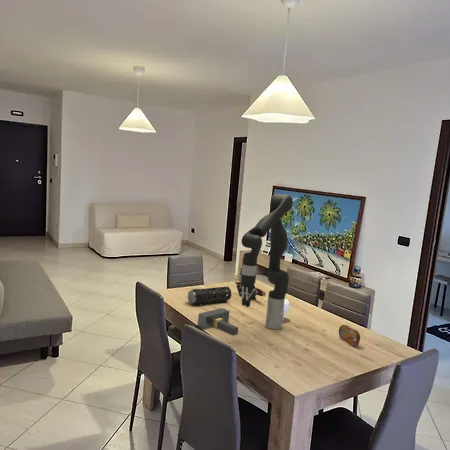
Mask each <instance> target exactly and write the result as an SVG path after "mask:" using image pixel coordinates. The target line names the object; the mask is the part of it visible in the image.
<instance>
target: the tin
mask: <svg viewBox="0 0 450 450" xmlns="http://www.w3.org/2000/svg"><path fill="white" fill-rule="evenodd" d="M338 336H339V338H340V340H341V339H342V341H343V342H344V341H345V344H348V345H349V346H351V347H352V346H353V347H354V346H356V347H357V346H358V345H359V344H360V341H361V335H360V332H359V331H358V330H357V329H355V328H353V327H352V326H350V325H348V324H341V325H340V326H339V329H338Z"/></svg>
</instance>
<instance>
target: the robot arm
mask: <svg viewBox="0 0 450 450" xmlns="http://www.w3.org/2000/svg"><path fill="white" fill-rule="evenodd" d="M293 200H294V199H293V197H292V196H291V195H290V194H286V193H285V194H283V193H274V194H272V195H271V197H270V203H269V205H270V206H269V207H270V213H268V214H267V215H264V216H263V217H262V218H261V219H260V220H259V221H258V222H257V223H256V225H254V227H252V228H251V229H249V230H248V231H247V232H246V233H244V234H243V236H242V238H241V244H242V246H243V247H244V248H248V249H250V252H249V251H248V252H245V253H244V254H243V257H242V258H243V259H242V266H241V268H242V273H241V284H240V285H237V284H236V289H237V293H238V296H239V297H241V299H242V300H241V306H243V307H246V308H249V307H250V306H251V301H252V300H255V297H256V296H258V295H257V293H258V290H256V289H255V288H256V287H255V284H256V282H257V281H256V280H257V270H258V269H257V264H258V258H259V255H260V251H261V248H262V246H263V239H262V238H264V237H266V235H267V234H268V233H269V231H270V238H269V239H270V240H269V242H270V247H269V251H270V252H269V263H268V270H267V280H268V282H269V283H271V284H272V285H273V286H274V288H273V289H272V290H270V291H268V298H267V304H266V305H267V307H266V315H265V317H266V318H265V327H266V328H268V329H270V330H282V329H283V322H284V312H285V311H284V310H285V299H286V294H287V293H288V287H289V281H290V276H289V273H288V272H287V271H285V270H283V269H281V259H282V257H283V255H284V253H285V252H286V250H287V248H288V247H287V246H288V232H287V230H286V228H285V226H284V224H283V222H282V217H284V216H285V215H286V214H287V213H288V212H289V211H290V210H291V209H292V206H293V205H294V204H293V203H294V201H293ZM252 291H253V292H252ZM246 296H247V298H246ZM246 299H247V300H246Z"/></svg>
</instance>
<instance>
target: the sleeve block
mask: <svg viewBox="0 0 450 450" xmlns="http://www.w3.org/2000/svg"><path fill="white" fill-rule="evenodd" d="M197 317H198V318H197V327H199V328H202V329H203V330H208V329H211V328H214V327H213V322H214V318H215V317H220V318H222V319H223V321H225V322H227V323H229V321H230V320H229V318H230V310H228V309H225V308H222V307H220V308H216V309H212V310H208V311H204V312H200V313H198V316H197Z"/></svg>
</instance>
